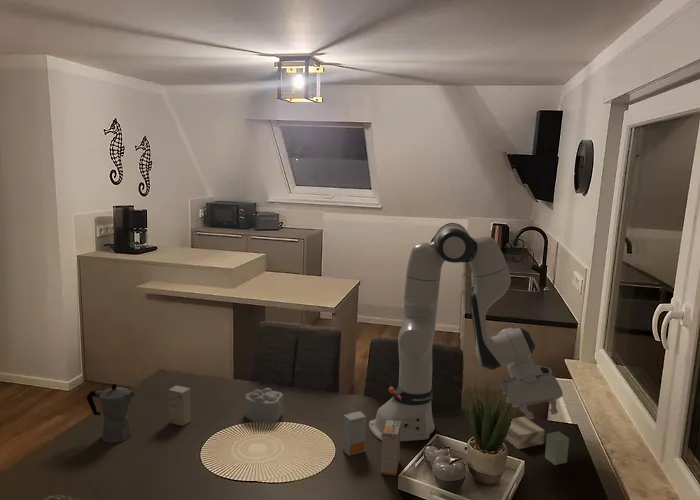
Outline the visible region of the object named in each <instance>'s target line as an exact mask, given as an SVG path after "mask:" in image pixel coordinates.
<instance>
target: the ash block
mask: <svg viewBox="0 0 700 500" xmlns="http://www.w3.org/2000/svg"><path fill="white" fill-rule="evenodd" d="M511 419H512V421H511V425H510V427H509V430H508V433H507V436H506V438H504V439H505V440H506V441H508V442H509V444H511V445H512V444H513V447H515V448H516V449H518V450H521V449H525V448H530V447H535V446H540V445H543V444H545V432H546V431H545V429H544V428H542V427H541V426H539V425H538V424H536V423H535V422H534V421H532V420H531V419H529V420H528V419H527V417H526V415H524V416H519V417H514V418H511Z"/></svg>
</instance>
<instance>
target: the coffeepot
mask: <svg viewBox="0 0 700 500" xmlns="http://www.w3.org/2000/svg"><path fill="white" fill-rule="evenodd" d="M134 396H136V393H135V392H134V391H131V390H130V389H129V388H127V387H124V386H123V387H122V386H117V383H112V384H111V387H110V388H106V389H104V390H91V391H90V392H89V393H88V394H86V401H87V402H88V405H89V407H90V409H91V412H92V414H93V415H94V416H101V414H102V415H103V417H104V419H103V427H102V435H101V436H102V438H101V439H102V441H103V442H104V441H105V443H107V442H109V443H108V444H115V442H117V443H121V442H124V441H126V440H128V439H129V438H130V437H131V436H132V430H131V426H130V425H131V424H130V422H129V417H128V410H129V409H128V408H129V405H130V403H131V401H132V399H133V397H134ZM93 397H95V398H99V401H100V405H101V409H102V412H100V411H97V407H96V405H95V401H94V399H93ZM127 438H128V439H127ZM120 441H121V442H120Z"/></svg>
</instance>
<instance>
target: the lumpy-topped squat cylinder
mask: <svg viewBox="0 0 700 500" xmlns="http://www.w3.org/2000/svg"><path fill="white" fill-rule="evenodd" d="M244 399H245V402H244V407H245V411H244V412H245V418H247V419H248V420H250V421H252V422H255V423H262V424H263V423H264V424H272V423H277V422H278V421H279V420H280V418H281V417H282V416H283V415H284V394H283V393H282V392H280V391H276V390H275V391H274V390H272V388H270V387H265V388H263V389H254V390H253V391H250V392H248V393H246V395H244Z"/></svg>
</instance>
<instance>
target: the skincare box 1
mask: <svg viewBox="0 0 700 500" xmlns="http://www.w3.org/2000/svg"><path fill="white" fill-rule="evenodd" d="M191 400H192V398H191V387H185V386H181V385H177V384H176V385H174V386H173V387H171V388H169V389H168V423H170V424H172V425H178V426H181V427H184V426H185V425H187V424H189V423H191V416H192V415H191V409H192V408H191V407H192V406H191Z"/></svg>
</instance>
